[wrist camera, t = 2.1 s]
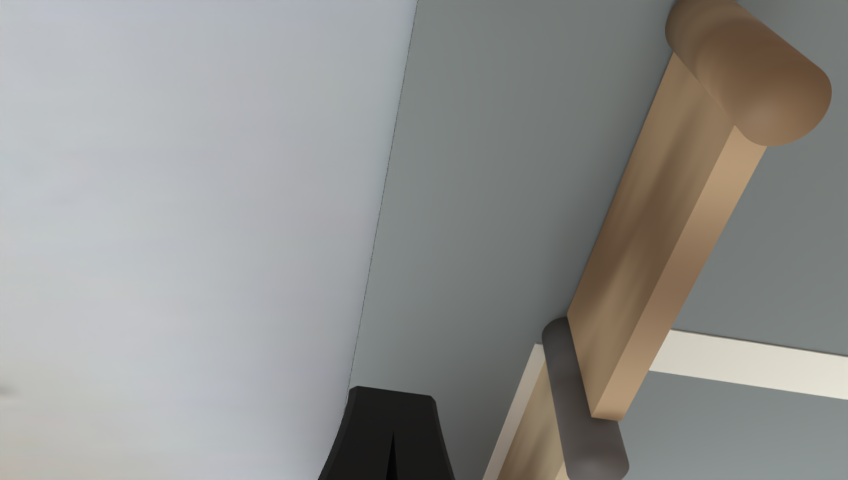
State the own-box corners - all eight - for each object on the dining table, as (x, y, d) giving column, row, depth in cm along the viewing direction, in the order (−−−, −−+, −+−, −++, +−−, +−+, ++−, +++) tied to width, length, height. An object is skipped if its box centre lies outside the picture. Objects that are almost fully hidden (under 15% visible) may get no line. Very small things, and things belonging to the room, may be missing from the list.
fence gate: (604, 317, 21) (640, 439, 17) (553, 309, 21) (580, 430, 17) (748, -5, 15) (849, 71, 12) (681, -19, 15) (762, 53, 12)
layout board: (823, 550, 29) (828, 560, 29) (330, 488, 27) (329, 498, 27) (1288, 52, 17) (1308, 59, 16) (440, -130, 15) (441, -127, 14)
